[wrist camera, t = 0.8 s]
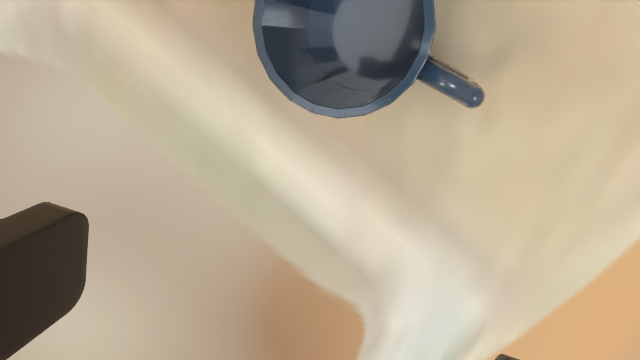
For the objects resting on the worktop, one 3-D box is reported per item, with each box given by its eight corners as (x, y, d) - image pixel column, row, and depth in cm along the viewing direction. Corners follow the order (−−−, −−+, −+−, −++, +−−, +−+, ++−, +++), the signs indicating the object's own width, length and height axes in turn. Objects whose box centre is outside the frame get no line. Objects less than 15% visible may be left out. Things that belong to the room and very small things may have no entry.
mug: (281, 57, 34) (226, 64, 25) (339, -69, 30) (300, -113, 22) (435, 145, 33) (435, 184, 24) (512, 24, 30) (544, 18, 21)
